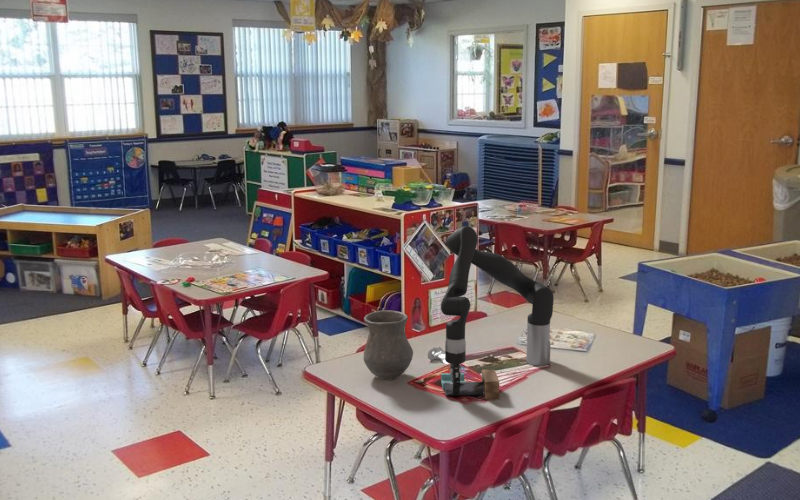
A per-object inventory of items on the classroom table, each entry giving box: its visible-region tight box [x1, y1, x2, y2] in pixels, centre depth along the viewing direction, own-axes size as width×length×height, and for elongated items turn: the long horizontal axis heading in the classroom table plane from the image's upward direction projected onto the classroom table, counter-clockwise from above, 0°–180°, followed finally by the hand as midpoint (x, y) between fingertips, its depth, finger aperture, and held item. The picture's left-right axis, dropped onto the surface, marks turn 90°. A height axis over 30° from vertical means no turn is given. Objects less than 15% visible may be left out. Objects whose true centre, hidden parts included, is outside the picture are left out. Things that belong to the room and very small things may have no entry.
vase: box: [363, 309, 414, 381], centre depth 305 cm, size 20×19×25 cm
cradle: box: [440, 372, 467, 392], centre depth 298 cm, size 9×10×3 cm
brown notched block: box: [481, 369, 500, 401], centre depth 290 cm, size 5×12×7 cm, turn 1°
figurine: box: [427, 346, 450, 365], centre depth 323 cm, size 9×6×12 cm
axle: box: [444, 381, 485, 396], centre depth 289 cm, size 14×5×5 cm, turn 91°
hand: (455, 392), depth 289 cm, fingers closed on axle, 4 cm apart
